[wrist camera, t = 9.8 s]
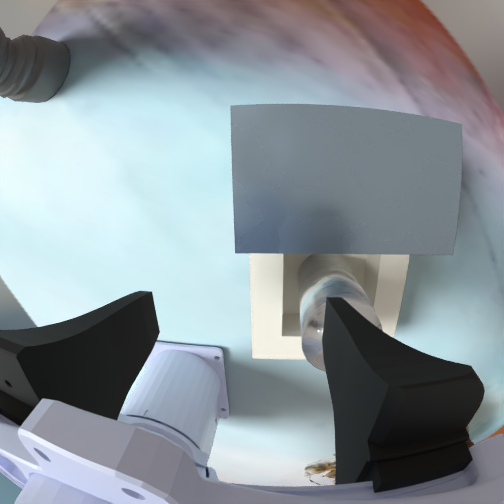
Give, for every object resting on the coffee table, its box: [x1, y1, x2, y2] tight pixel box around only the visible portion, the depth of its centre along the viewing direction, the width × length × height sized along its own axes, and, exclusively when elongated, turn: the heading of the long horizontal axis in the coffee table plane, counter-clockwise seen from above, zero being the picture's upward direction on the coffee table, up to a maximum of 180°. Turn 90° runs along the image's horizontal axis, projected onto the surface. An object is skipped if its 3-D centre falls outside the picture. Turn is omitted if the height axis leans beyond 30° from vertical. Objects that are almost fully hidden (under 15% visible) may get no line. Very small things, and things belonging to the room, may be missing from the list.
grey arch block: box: [231, 104, 462, 255], centre depth 15 cm, size 6×10×9 cm, turn 91°
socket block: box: [249, 253, 410, 359], centre depth 20 cm, size 10×10×4 cm
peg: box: [297, 254, 383, 371], centre depth 17 cm, size 4×4×8 cm
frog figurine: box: [304, 454, 336, 485], centre depth 29 cm, size 12×12×4 cm
